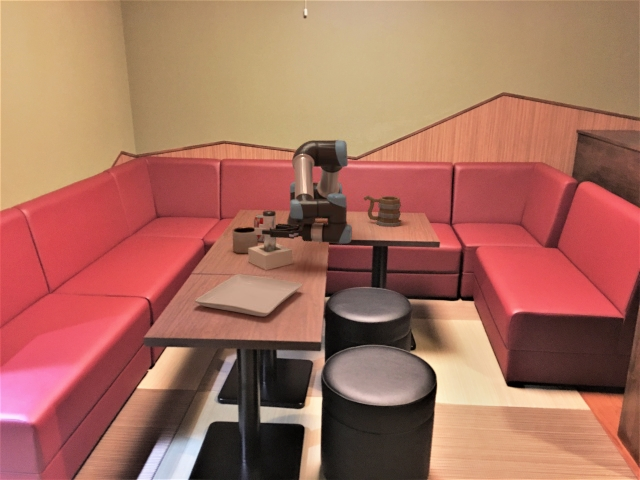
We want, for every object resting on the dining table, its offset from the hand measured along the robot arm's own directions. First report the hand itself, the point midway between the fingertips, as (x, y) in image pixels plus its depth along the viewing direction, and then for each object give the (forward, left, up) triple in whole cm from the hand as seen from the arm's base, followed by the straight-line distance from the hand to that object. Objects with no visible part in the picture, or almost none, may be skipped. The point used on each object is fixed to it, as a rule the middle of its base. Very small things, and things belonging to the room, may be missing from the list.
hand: (257, 229), depth 212 cm
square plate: (+24, +33, -15) cm, 43 cm away
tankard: (-86, -14, -14) cm, 89 cm away
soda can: (-18, -26, -14) cm, 35 cm away
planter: (-4, -17, -14) cm, 23 cm away
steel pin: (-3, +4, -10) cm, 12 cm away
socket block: (-3, +4, -14) cm, 15 cm away
